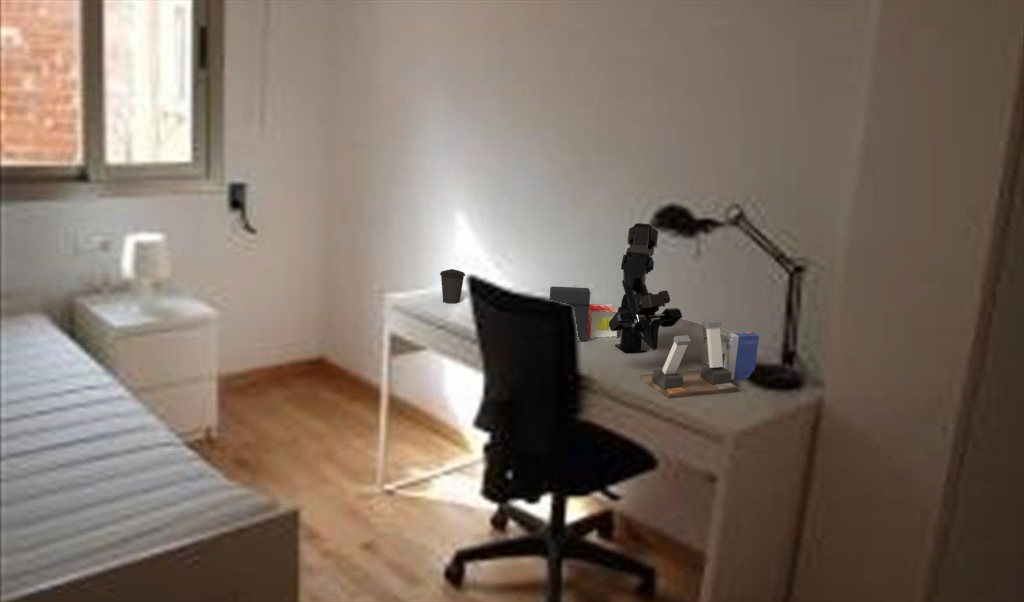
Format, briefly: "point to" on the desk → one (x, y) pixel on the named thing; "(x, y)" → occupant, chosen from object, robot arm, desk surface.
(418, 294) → the desk surface
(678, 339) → the lever
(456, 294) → the coffee cup
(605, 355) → the desk surface
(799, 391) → the desk surface
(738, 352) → the walkman
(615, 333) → the red and white cube
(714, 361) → the lever
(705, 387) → the switch board
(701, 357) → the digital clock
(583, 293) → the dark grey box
